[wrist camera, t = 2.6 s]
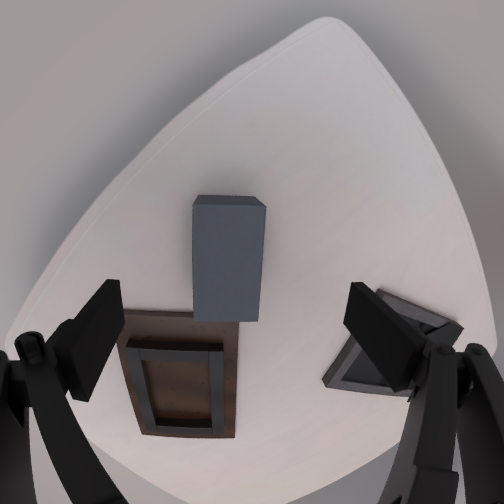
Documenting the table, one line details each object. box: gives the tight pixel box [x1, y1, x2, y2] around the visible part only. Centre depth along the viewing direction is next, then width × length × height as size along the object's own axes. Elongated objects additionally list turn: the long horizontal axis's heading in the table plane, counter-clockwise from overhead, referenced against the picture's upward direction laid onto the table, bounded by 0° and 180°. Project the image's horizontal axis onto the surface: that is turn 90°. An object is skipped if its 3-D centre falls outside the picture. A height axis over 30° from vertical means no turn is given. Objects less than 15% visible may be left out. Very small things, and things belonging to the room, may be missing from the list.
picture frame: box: [322, 289, 464, 397], centre depth 32 cm, size 13×2×18 cm
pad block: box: [192, 195, 266, 322], centre depth 24 cm, size 9×5×6 cm, turn 177°
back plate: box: [116, 310, 239, 438], centre depth 29 cm, size 20×13×2 cm, turn 177°
